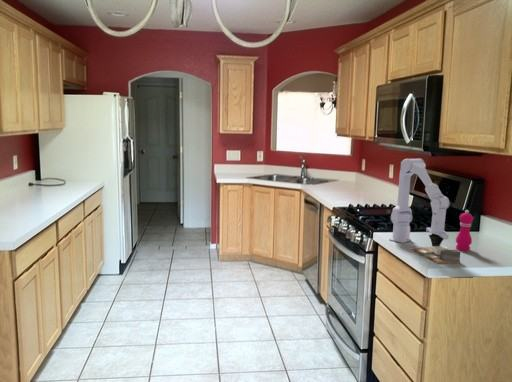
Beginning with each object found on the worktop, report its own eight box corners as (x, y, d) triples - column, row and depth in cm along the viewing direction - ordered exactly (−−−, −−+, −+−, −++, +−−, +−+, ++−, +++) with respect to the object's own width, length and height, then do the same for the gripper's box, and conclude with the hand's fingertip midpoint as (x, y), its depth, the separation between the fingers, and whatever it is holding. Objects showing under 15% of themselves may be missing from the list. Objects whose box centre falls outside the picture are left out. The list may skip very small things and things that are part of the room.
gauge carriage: (424, 252, 210) (424, 246, 209) (442, 251, 212) (443, 245, 211) (428, 255, 206) (429, 249, 205) (447, 254, 208) (448, 248, 207)
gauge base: (411, 249, 219) (412, 239, 218) (432, 248, 221) (433, 239, 220) (437, 263, 198) (438, 252, 198) (460, 262, 201) (461, 251, 200)
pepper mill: (465, 252, 217) (470, 212, 213) (451, 248, 223) (456, 209, 219) (473, 250, 221) (478, 210, 218) (459, 246, 227) (464, 207, 223)
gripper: (455, 225, 204) (452, 254, 206) (436, 218, 218) (433, 245, 220) (441, 226, 202) (438, 254, 205) (423, 218, 216) (421, 245, 219)
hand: (435, 250), depth 212 cm, fingers closed
